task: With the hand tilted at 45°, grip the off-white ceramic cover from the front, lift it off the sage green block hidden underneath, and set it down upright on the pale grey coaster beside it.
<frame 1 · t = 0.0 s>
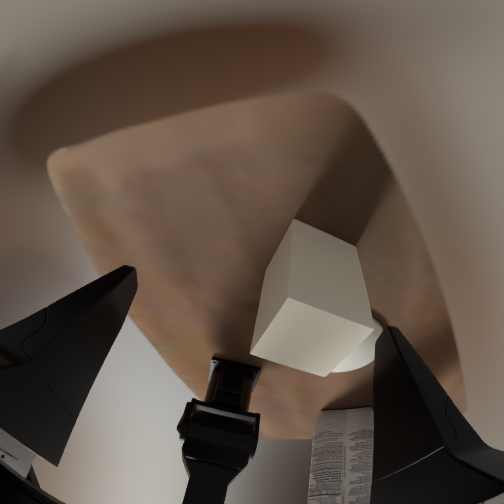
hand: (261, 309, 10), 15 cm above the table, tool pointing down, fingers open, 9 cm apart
juice carton: (344, 415, 42), on the table
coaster: (341, 342, 31), on the table
cover: (309, 259, 26), on the table
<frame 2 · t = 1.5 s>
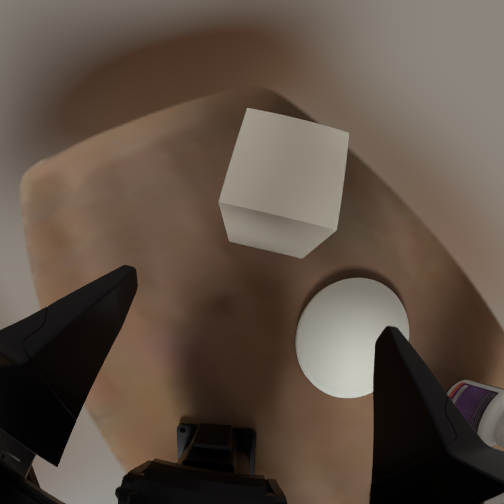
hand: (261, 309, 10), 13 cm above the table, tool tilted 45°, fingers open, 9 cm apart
pill bottle: (456, 403, 22), on the table
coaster: (354, 338, 23), on the table
cover: (273, 215, 24), on the table
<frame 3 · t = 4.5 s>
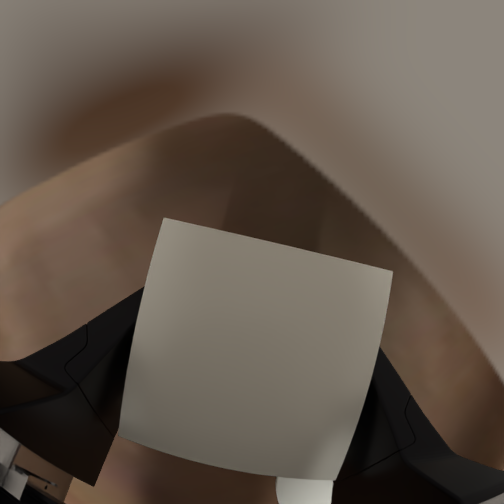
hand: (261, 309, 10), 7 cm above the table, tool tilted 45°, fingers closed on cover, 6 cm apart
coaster: (351, 474, 14), on the table
cover: (249, 332, 16), on the table, touching gripper
when the fingers open (9 cm above the table, at t = 10.1 s): cover drops 1 cm, resting on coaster.
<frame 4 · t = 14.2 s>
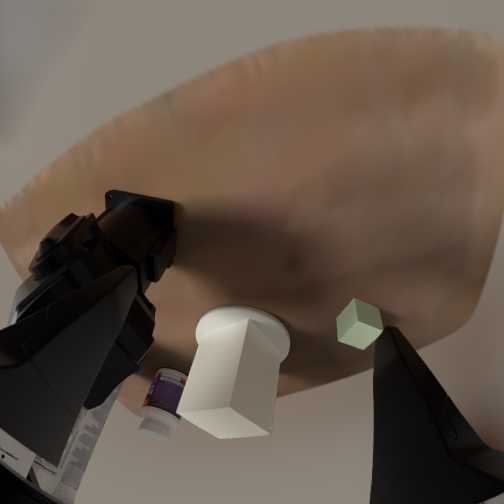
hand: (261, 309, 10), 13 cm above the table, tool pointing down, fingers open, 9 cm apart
juice carton: (102, 337, 36), on the table
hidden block: (359, 324, 25), on the table
pill bottle: (174, 376, 38), on the table
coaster: (243, 338, 31), on the table
cover: (241, 344, 30), point 1 cm above the table, touching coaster
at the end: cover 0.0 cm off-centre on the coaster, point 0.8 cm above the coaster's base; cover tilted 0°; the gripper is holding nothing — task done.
